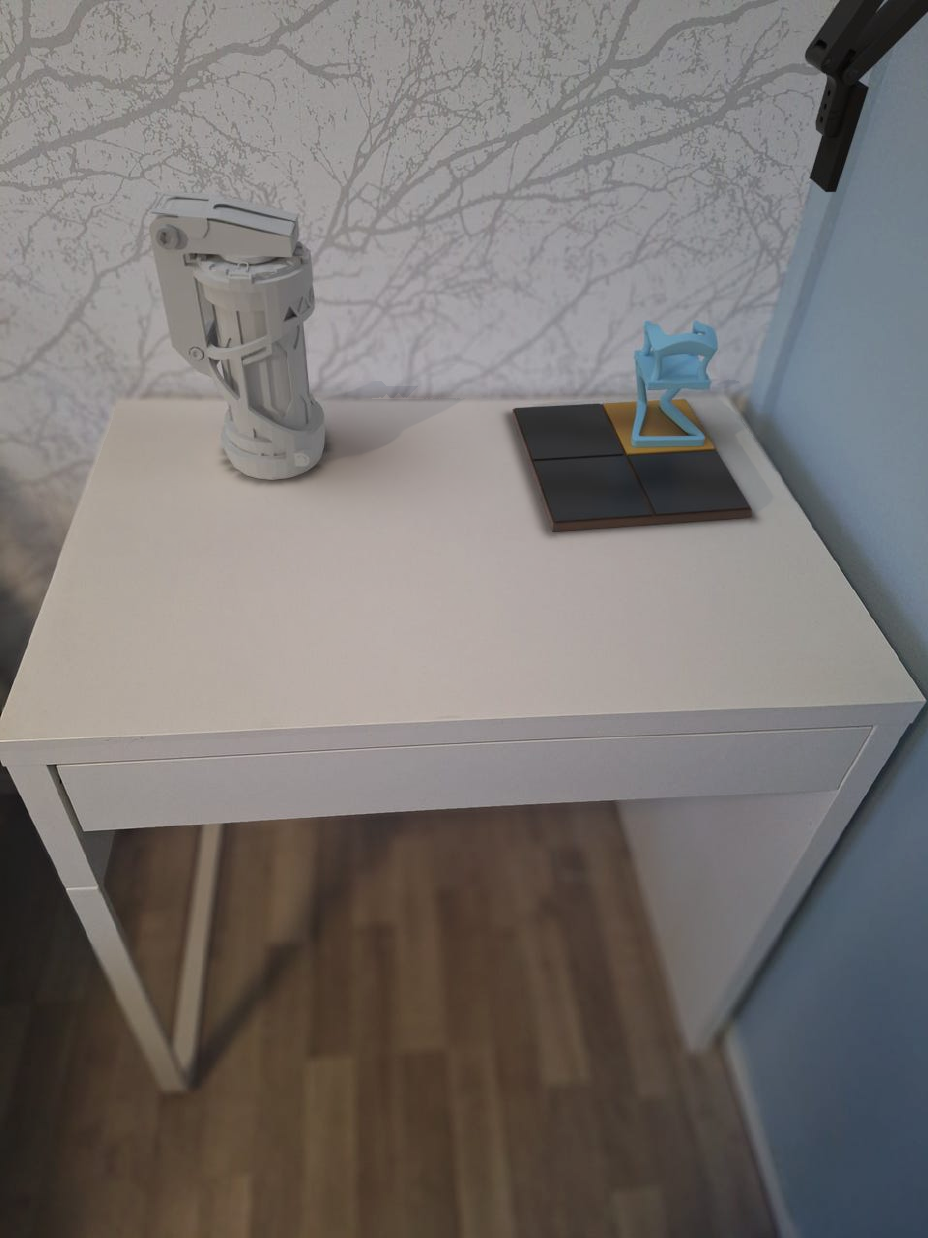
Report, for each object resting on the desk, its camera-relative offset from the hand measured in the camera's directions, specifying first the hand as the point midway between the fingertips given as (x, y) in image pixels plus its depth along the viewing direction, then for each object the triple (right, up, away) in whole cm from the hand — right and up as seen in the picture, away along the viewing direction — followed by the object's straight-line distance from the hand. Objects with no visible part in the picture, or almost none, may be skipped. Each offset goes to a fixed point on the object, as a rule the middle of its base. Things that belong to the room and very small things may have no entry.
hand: (911, 183), depth 66 cm
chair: (-11, -10, +34) cm, 37 cm away
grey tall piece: (-53, -14, +30) cm, 62 cm away
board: (-15, -15, +30) cm, 37 cm away
